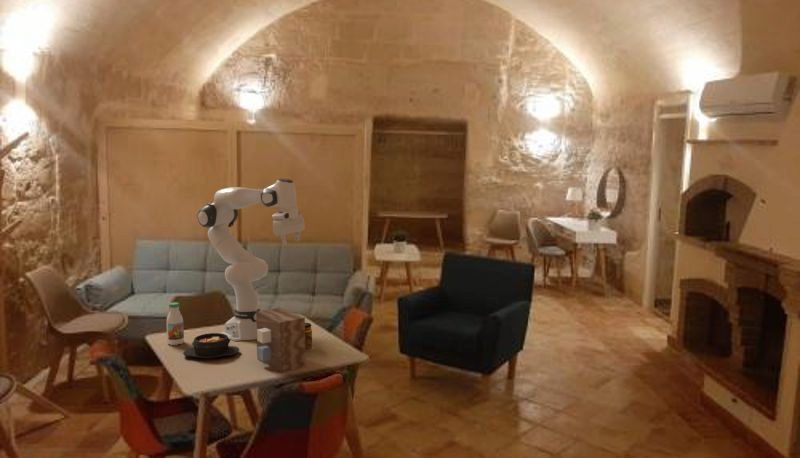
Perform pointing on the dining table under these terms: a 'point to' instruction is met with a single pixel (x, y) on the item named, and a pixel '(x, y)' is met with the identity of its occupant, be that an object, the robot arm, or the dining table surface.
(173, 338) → the milk bottle
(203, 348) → the casserole
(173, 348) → the dining table surface
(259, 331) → the white cube
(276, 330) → the block
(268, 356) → the blue cube
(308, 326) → the condiment
